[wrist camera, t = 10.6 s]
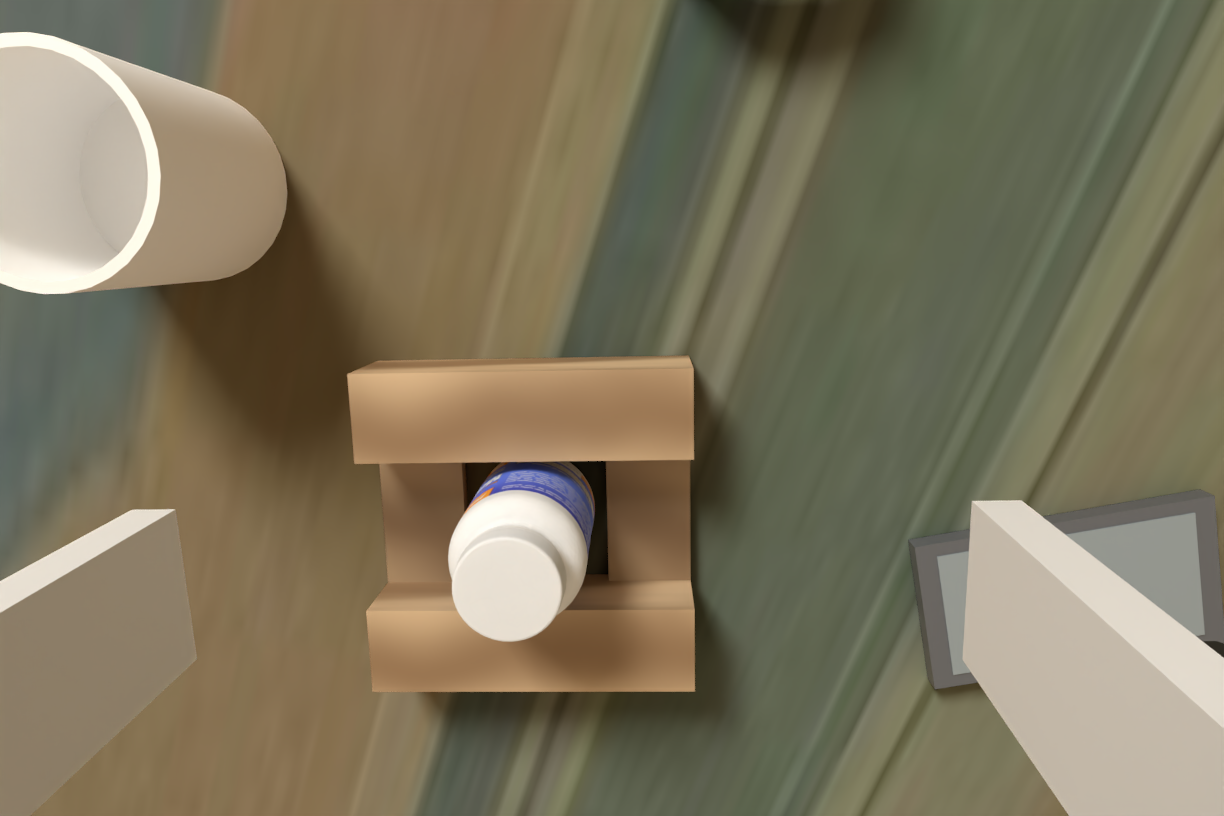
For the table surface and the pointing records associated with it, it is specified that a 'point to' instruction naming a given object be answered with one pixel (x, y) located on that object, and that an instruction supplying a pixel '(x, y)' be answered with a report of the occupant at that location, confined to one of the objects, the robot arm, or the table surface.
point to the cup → (125, 174)
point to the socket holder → (532, 432)
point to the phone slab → (1116, 536)
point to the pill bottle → (521, 548)
